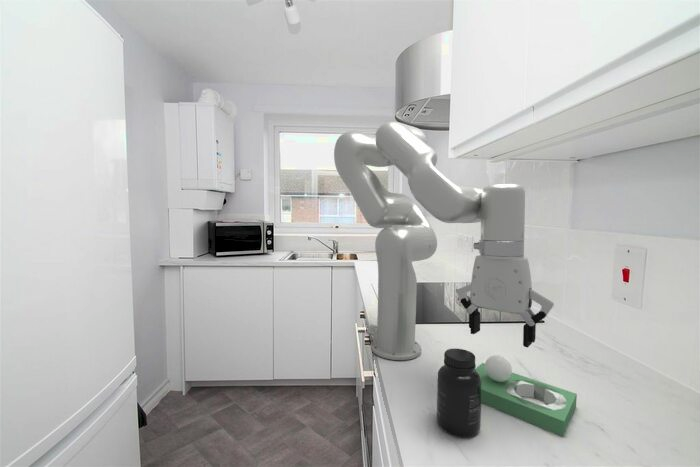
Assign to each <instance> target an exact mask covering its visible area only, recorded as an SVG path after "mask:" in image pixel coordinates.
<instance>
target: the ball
mask: <svg viewBox="0 0 700 467" xmlns="http://www.w3.org/2000/svg"><path fill="white" fill-rule="evenodd" d="M484 363H485V371H486V373H487V375H488V376H489V377H490V378H491V379H492V380H494V381H497V382H504V381H506V380H508V379H509V378H510V376H511V374H512V373H513V369H512V368H513V367H512V364H511V362H509V361H508V359H507V358H505V357H504V356H501V355H496V354H495V355H491V356H489V357H488V358H487V359H486V361H485V362H484Z"/></svg>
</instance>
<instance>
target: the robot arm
mask: <svg viewBox="0 0 700 467" xmlns="http://www.w3.org/2000/svg"><path fill="white" fill-rule="evenodd" d="M333 149H334V150H333V151H334V152H333V159H334V160H333V161H334V165H335V169H336V172H337V173H338V175H339V178H340V180H342V182H343V183H344V184H345V186H346V188H347V189H348V191H349V192H350V194H351V197H352V198H353V201H355V203H356V206H357V207H358V209H359V211H360V213H361V214H362V216H363V218H364V219H365V221H366V223H368V226H370V227H372V228H376V229H381V230H380V231H379V233H378V234H377V235H376V238H375V243H374V244H375V245H374V246H375V247H374V248H375V249H374V250H375V255H376V260H377V261H376V262H377V271H378V272H377V274H378V276H377V277H378V278H377V279H378V280H377V281H378V283H377V288H378V289H377V319H376V320H377V323H376V324H377V325H375V324H370V325H369V326H368V329H366V334H367V335H368V336H369V335H370V336H372V337H373V340H372V341H371V342H370V350H371V351H372V353H374V354H375V355H376V356H377V357H380V358H383V359H387V360H392V361H409V360H412V359H415V358H417V357H419V356H420V354H421V353H422V346H421V344H420V343H418V342H417V341H416V320H417V319H416V317H417V315H416V314H417V291H418V289H417V288H418V284H417V283H418V280H417V276H416V272H415V269H414V266H413V262H421V261H424V260H427V259H430V258H431V257H433V255H434V254H435V253H436V251H437V249H438V248H437V247H438V238H437V236H436V233H435V230H434V229H433V228H432V226H431V224H430V223H429V221H428V220H427V218H426V217H425V215H424V213H423V212H422V210H421V209H420V207H419V206H418V204H417V203H416V202H415V201H414V199H415V200H416V201H417V202H418V203H419V204H420V205H421V207H423V208H424V209H425V211H427V213H428V214H430V215H431V216H432V217H433V218H434V219H437V220H438V221H440V222H442V223H446V224H473V223H475V224H476V223H480V239H479V242H474V243H473V249H474V250H478V251H479V252H478V253H479V255H476V256H475V258H474V263H473V268H472V274H471V280H470V281H471V282H470V283H471V284H467V285H465V286H462V287H460V288H457V289H456V294H457V296H458V298H459V300H460V303H461V306H463V307H464V309H465V311H466V312H467V314H468V328H469V329H470V334H471V335H476V334H477V333H479V332H480V331H481V313H480V310H479V309H484V310H490V311H496V312H500V313H506V314H507V313H508V314H513V315H520V316H521V318H522V319H523V320H524V322H525V324H523V333H522V334H523V336H522V338H523V340H522V345H523V347H524V348H529V347H530V346H531V345H532V344H534V343H535V342H536V332H537V330H536V328H537V324H538V323H539V322H541V321H542V320H544V319H545V318H546V317H547V316H548V315H549V313H550V311H551V310H552V309H553V308H554V306H555V304H554V302H553V301H551V300H550V299H548V298H546V297H545V296H543V295H541V294H539V293H538V292H537V291H535V290H533V289H532V288H533V286H532V277H531V276H532V274H531V267H530V264H529V263H530V262H529V259H528V257H525V219H526V218H525V217H526V216H525V213H526V211H525V210H526V190H525V188H524V186H522V185H520V184H518V183H496V184H495V183H494V184H489V185H486V186H485V187H484V188H483V187H474V186H473V187H472V186H468V185H467V186H466V185H459V184H454V183H453V182H452V181H450V180H449V179H448V178H446V176H445V175H443V174H442V173H441V172H440V171H439V170H438V169H437V168H436V165H437V164H438V163H437V162H438V155H437V152H436V150H434V149H433V148H432V147H431V146H429V145H428V140H427V137H426V134H425V133H424V132H423V131H422V130H421V129H420V128H418V127H416V126H412V125H409V124H405V123H403V122H399V121H387V122H385V123H383V124H381V125H380V126H379V127H377V130H376V132H375V135H374V134H370V133H367V132H363V131H354V130H353V131H347V132H344V133H342V134H341V135H339V137H338V138H337V139H336V142H335V144H334V148H333ZM368 166H369V167H374V168H375V167H376V168H387V167H391V166H395V167H396V169H398V170H399V172H401V173H402V174H403V176H405V177H406V178H407V183H408V184H407V185H408V188H409V190H410V193H411V194H412V196H413V197H414V199H412V198H411V197H410V196H408V195H407V194H404V193H397V192H391V191H388V190H387V189H386V187H384V185H383V184H382V182H381V180H380V179H379V177H378V176H377V174H376V173H375V172H374V171H373V170H372V169H371V168H369V167H368ZM467 293H470V294H469V295H470V296H469V297H470V298H469V297H468V294H467ZM533 301H534V303H537V304H539V305H540V306H541V308H540V310H538V312H536V313H535V312H534V311H533V310H532V309H531V307H532V306H533Z"/></svg>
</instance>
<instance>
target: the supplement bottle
mask: <svg viewBox="0 0 700 467" xmlns="http://www.w3.org/2000/svg"><path fill="white" fill-rule="evenodd" d="M443 354H444V357H443V358H444V359H443V365H441V366H440V368H439V369H438V372H437V384H436V385H437V386H436V388H437V392H436V394H437V397H436V398H437V399H436V421H437V423H438V426H439V427H440V428H441V429H442V430H443V431H444V432H445V433H447V434H449V435H452V436H454V437H459V438H469V437H471V438H472V437H474V436H475V435H477V434H478V433H479V432H480V429H481V415H482V413H481V411H482V403H481V377H480V375H479V373H478V372H477V371H476V370H475V369H476V368H477V367H476V354H474V353H473V352H471V351H469V350H466V349H462V348H448V349H446V350H445V351H444V353H443Z"/></svg>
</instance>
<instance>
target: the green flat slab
mask: <svg viewBox="0 0 700 467" xmlns="http://www.w3.org/2000/svg"><path fill="white" fill-rule="evenodd" d="M475 370H476V371H477V372H478V373H479V375H480V377H481V404H483V405H486V406H489V407H491V408H493V409H495V410H499V411H501V412H503V413H506V414H508V415H510V416H512V417H515V418H517V419H520V420H522V421H525V422H527V423H530V424H531V425H534V426H537V427H539V428H541V429H544V430H546V431H549V432H551V433H553V434H556V435H559V436H561V437H564V436H565V433H566V431H567V428H568V427H569V424H570V422H571V419H572V417H573V415H574V414H575V413H574V412H575V410H576V408H577V396H578V395H577V394H578V393H576V392H572V391H569V390H566V389H564V388H560V387H557V386H554V385H551V384H548V383H545V382H543V381H540V380H536V379H534V378H530V377H527V376H524V375H520V374H518V373H515V372H512V374H511V376H510V378H509V379H508V380H506V381H504V382H497V381H494V380H492V379H491V378H490V377H489V376H488V375H487V373H486V371H485V362H482V363H480V364H479V365H478V366H477V367H476V368H475ZM523 397H524V398H523ZM526 397H527V398H533V399H535V400H539V401H542V402H544V403H546V404H543V403H542V404H541V403H535V402H533V401H530V400H527V399H525V398H526Z"/></svg>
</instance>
